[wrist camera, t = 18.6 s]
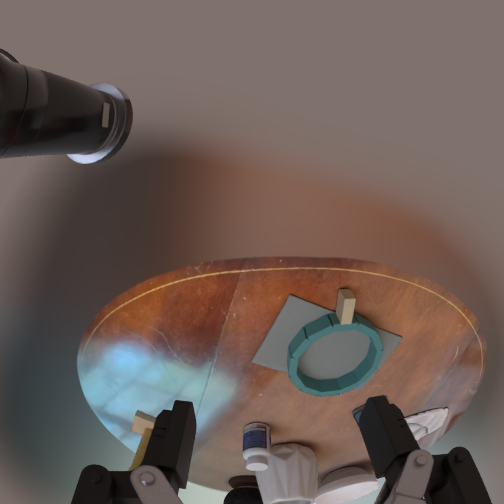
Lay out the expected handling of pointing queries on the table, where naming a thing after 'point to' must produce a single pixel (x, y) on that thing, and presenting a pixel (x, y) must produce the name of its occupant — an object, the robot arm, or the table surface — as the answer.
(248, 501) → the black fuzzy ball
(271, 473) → the vase
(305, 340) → the hoop
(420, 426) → the cloth
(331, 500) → the bowl
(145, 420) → the post
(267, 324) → the table surface
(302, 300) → the mat
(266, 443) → the pill bottle
